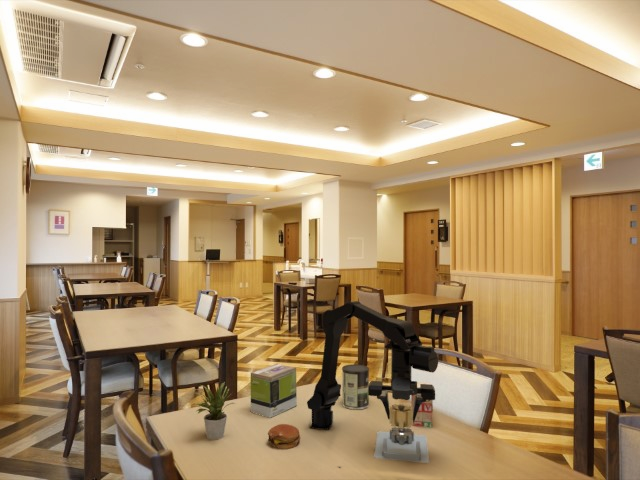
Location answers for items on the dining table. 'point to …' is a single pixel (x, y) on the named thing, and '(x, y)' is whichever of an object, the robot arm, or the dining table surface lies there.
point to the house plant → (214, 413)
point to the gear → (401, 435)
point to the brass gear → (401, 416)
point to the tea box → (273, 390)
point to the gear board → (401, 448)
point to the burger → (284, 436)
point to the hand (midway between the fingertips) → (401, 420)
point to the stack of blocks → (423, 411)
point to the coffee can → (355, 386)
